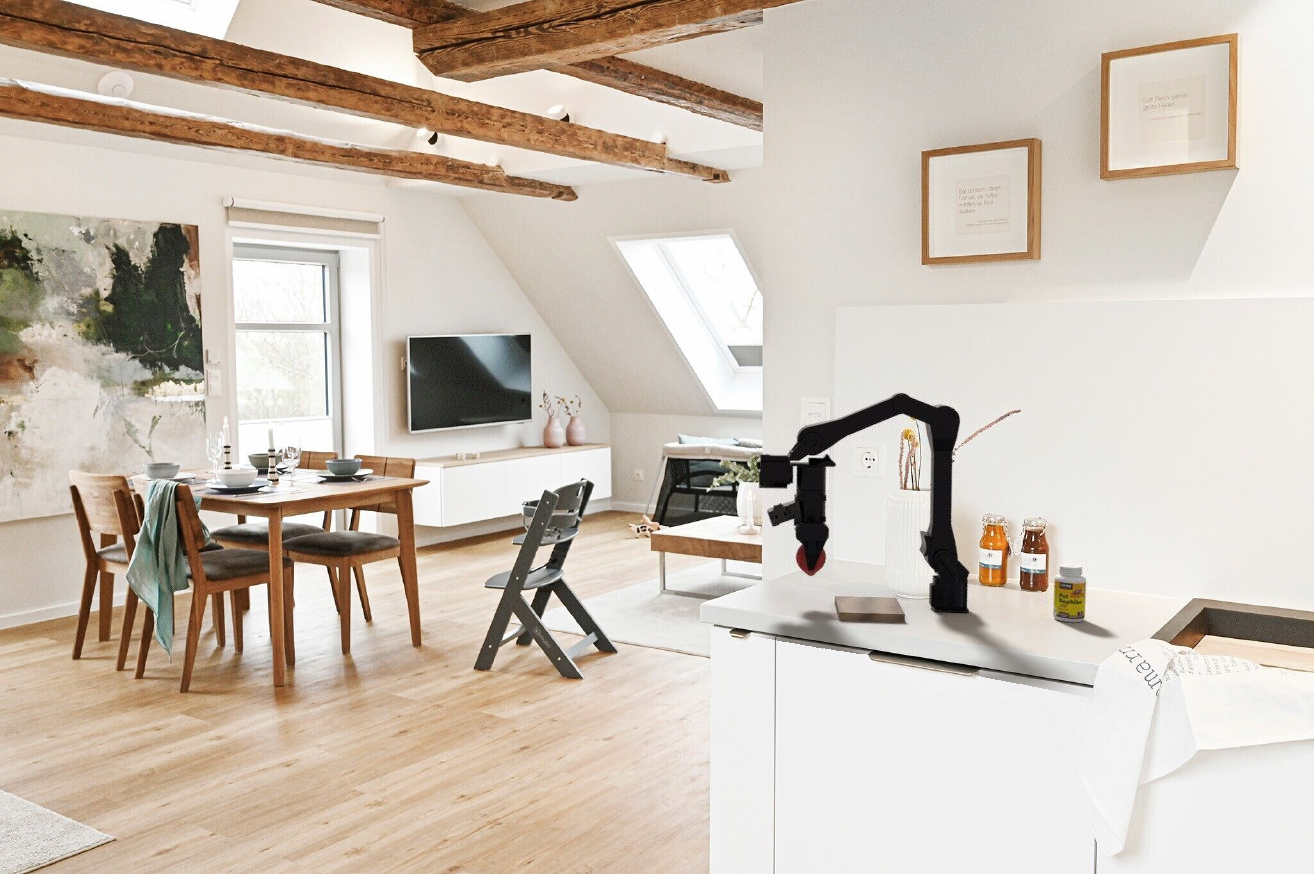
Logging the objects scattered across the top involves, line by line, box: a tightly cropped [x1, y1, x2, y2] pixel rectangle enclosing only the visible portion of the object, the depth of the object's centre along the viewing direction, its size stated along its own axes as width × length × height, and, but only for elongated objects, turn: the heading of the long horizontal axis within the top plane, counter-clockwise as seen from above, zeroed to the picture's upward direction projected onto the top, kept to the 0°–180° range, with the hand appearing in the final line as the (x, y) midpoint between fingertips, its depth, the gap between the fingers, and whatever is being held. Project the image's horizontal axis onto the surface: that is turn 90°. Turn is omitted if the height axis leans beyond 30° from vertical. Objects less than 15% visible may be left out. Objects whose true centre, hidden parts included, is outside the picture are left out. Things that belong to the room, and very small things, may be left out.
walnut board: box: [834, 595, 906, 623], centre depth 207 cm, size 12×14×2 cm
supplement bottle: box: [1052, 563, 1087, 623], centre depth 202 cm, size 6×6×10 cm
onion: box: [795, 543, 827, 577], centre depth 213 cm, size 6×6×8 cm
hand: (810, 567), depth 213 cm, fingers closed on onion, 6 cm apart
